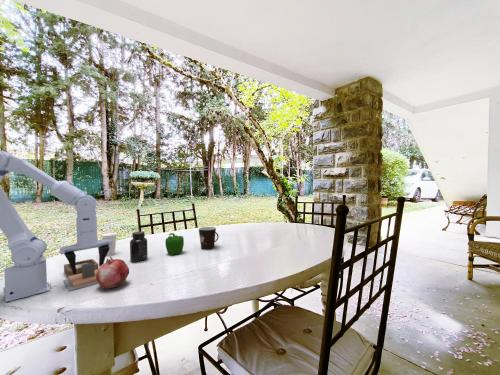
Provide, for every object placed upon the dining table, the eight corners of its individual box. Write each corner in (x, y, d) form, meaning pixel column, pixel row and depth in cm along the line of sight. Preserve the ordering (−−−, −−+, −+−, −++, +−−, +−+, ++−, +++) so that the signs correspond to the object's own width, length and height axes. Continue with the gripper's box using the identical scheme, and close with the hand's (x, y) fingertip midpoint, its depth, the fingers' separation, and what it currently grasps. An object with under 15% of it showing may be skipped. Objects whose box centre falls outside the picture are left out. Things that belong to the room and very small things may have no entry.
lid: (73, 287, 72) (73, 272, 72) (68, 279, 79) (67, 264, 79) (108, 278, 79) (107, 263, 79) (100, 271, 86) (100, 258, 86)
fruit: (126, 277, 81) (126, 249, 81) (131, 286, 73) (131, 255, 73) (95, 284, 75) (94, 254, 75) (97, 295, 68) (96, 262, 67)
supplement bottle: (126, 261, 98) (126, 233, 97) (140, 256, 104) (140, 230, 103) (137, 263, 94) (136, 234, 94) (151, 258, 100) (150, 231, 100)
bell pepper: (181, 249, 114) (180, 229, 113) (186, 254, 107) (185, 232, 106) (163, 252, 109) (162, 232, 109) (167, 257, 102) (167, 235, 102)
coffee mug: (197, 247, 118) (196, 227, 118) (213, 244, 122) (213, 226, 122) (202, 253, 108) (202, 231, 107) (220, 250, 111) (219, 230, 111)
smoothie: (110, 257, 104) (109, 226, 104) (98, 256, 105) (97, 226, 105) (121, 252, 110) (120, 223, 110) (109, 252, 111) (108, 223, 111)
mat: (69, 291, 70) (69, 290, 70) (63, 281, 78) (63, 280, 78) (113, 279, 79) (113, 278, 79) (103, 271, 87) (103, 270, 87)
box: (68, 279, 80) (68, 270, 80) (64, 272, 86) (63, 264, 86) (98, 271, 86) (98, 263, 86) (92, 266, 93) (92, 258, 92)
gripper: (107, 226, 86) (108, 262, 87) (57, 232, 76) (59, 273, 76) (113, 228, 81) (114, 266, 82) (61, 235, 71) (62, 279, 71)
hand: (88, 270), depth 79 cm, fingers open, 7 cm apart
